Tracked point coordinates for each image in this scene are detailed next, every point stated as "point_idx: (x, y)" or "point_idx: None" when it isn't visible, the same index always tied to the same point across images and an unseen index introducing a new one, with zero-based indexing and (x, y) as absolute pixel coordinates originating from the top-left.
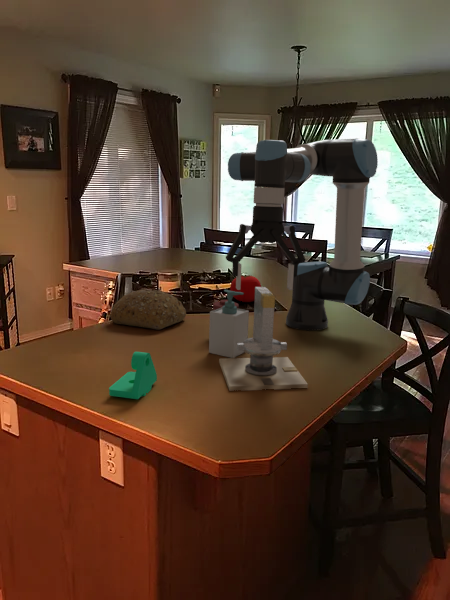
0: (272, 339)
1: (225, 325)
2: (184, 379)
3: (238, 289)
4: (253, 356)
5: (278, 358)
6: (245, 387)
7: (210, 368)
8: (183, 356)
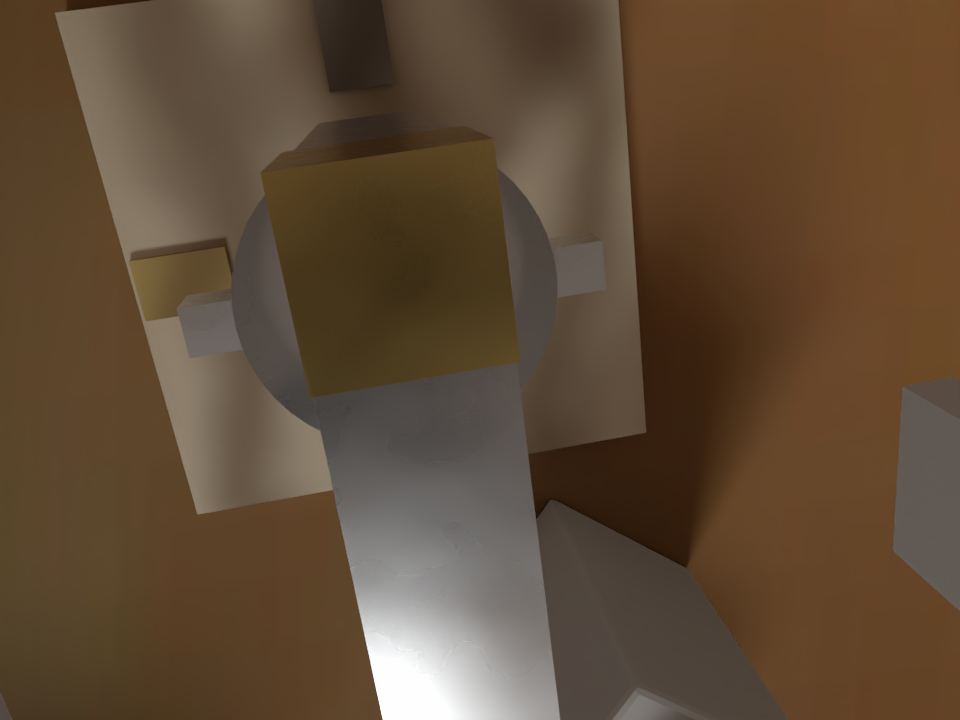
0: (314, 128)
1: (670, 651)
2: (859, 128)
3: (940, 382)
4: None
5: (261, 480)
6: None
7: (695, 321)
8: (834, 492)
